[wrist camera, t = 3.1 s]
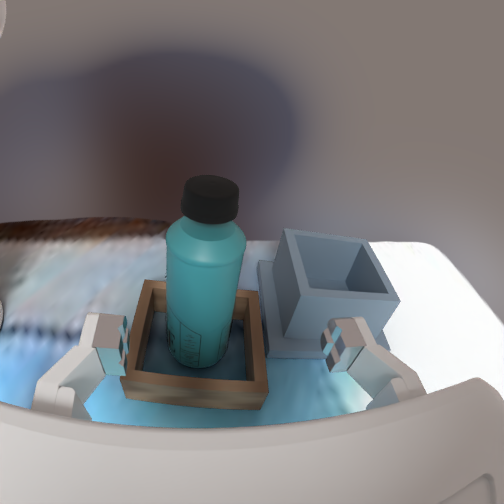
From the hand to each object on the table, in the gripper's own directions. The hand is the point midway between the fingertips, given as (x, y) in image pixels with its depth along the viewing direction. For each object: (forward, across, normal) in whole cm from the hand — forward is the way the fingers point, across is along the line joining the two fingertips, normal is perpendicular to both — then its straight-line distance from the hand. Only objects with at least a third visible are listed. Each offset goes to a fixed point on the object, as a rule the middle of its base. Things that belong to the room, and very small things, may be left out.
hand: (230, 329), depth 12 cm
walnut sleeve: (+12, 0, +19) cm, 23 cm away
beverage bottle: (+12, 0, +20) cm, 23 cm away
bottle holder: (+19, -16, +20) cm, 32 cm away
